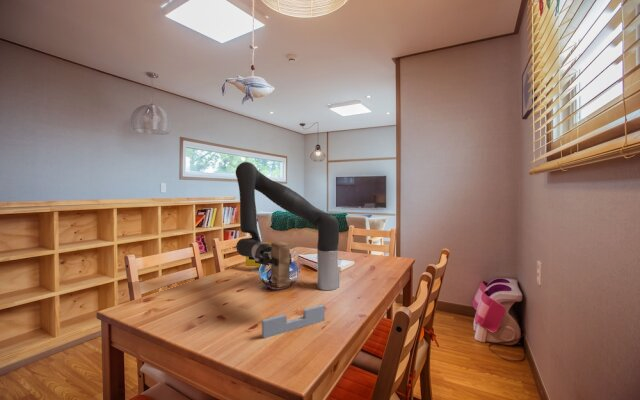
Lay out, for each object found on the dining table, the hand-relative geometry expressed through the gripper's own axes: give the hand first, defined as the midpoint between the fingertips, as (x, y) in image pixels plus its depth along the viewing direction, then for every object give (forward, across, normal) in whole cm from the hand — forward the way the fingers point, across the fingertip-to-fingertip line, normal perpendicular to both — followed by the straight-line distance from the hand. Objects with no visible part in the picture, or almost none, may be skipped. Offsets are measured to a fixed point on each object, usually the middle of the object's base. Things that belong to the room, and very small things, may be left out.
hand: (284, 262), depth 102 cm
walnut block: (-3, 0, +8) cm, 8 cm away
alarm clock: (-62, +19, +20) cm, 68 cm away
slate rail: (+7, 0, +20) cm, 21 cm away
